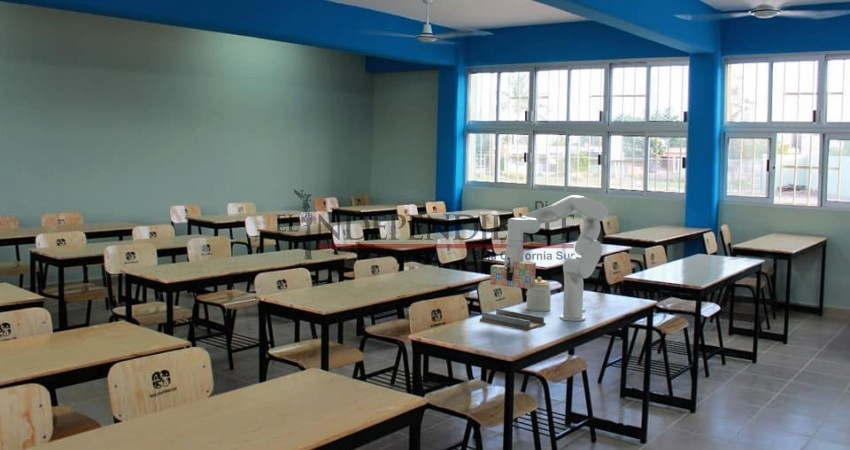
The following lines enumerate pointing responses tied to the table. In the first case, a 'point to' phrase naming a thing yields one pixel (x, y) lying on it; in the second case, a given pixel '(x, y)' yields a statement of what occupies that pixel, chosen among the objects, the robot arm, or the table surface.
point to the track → (513, 319)
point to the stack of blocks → (515, 275)
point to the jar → (539, 296)
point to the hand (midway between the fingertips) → (513, 279)
